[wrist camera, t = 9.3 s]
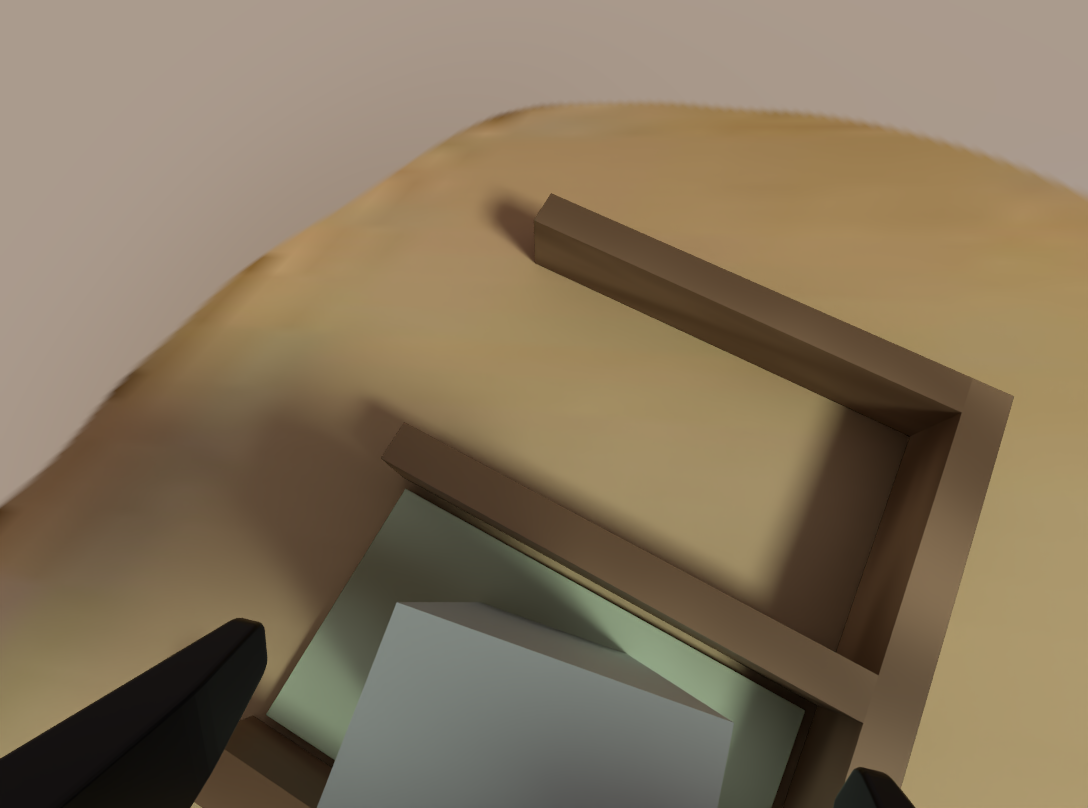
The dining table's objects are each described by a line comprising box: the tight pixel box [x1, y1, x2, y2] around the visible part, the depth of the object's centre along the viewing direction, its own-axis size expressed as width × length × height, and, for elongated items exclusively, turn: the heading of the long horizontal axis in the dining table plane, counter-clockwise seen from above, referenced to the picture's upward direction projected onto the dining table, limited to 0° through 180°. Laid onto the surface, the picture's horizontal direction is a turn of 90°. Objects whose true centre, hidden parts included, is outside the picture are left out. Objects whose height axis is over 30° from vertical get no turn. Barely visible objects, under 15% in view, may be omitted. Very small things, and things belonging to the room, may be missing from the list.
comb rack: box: [194, 193, 1014, 808], centre depth 16 cm, size 19×15×2 cm
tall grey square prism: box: [317, 602, 734, 808], centre depth 11 cm, size 4×4×10 cm
